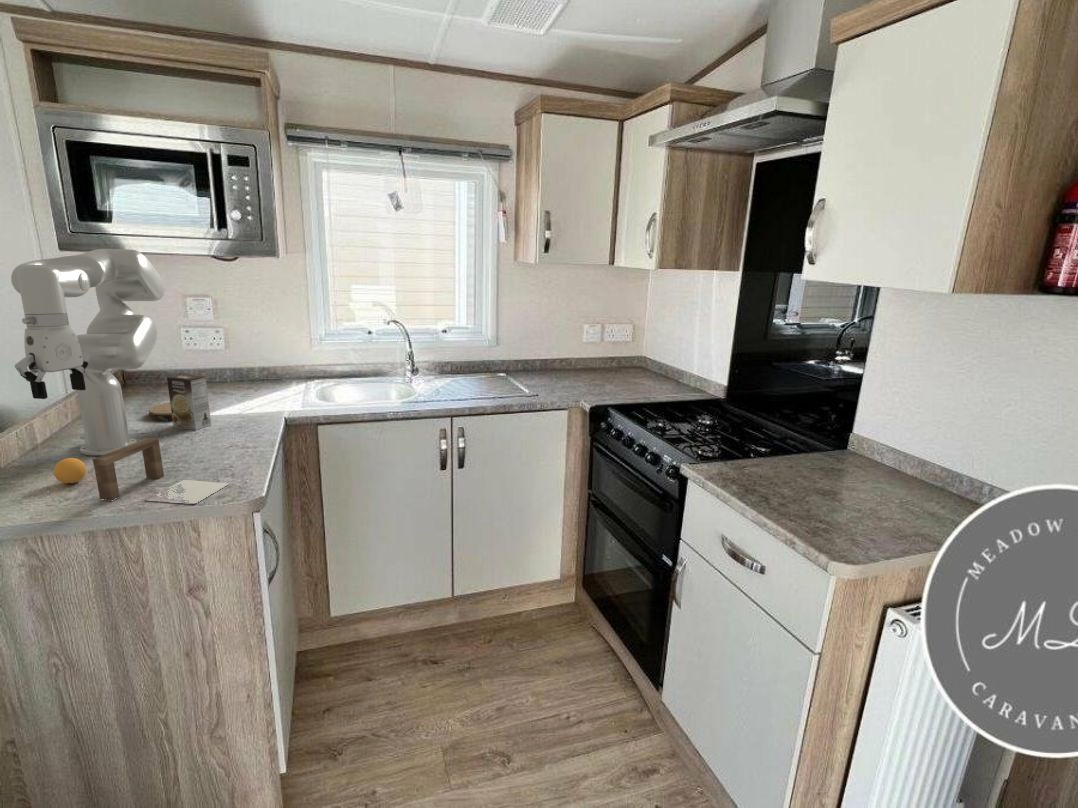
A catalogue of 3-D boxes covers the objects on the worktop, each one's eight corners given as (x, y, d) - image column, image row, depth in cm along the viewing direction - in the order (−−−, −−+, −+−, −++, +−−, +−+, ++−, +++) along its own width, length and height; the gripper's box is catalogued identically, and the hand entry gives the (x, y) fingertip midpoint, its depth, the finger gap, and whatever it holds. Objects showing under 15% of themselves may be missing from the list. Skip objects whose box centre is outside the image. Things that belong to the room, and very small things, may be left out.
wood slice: (177, 424, 182) (175, 415, 181) (137, 419, 186) (136, 410, 185) (216, 411, 197) (215, 403, 196) (179, 407, 201) (178, 399, 200)
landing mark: (144, 501, 127) (144, 500, 127) (183, 480, 138) (183, 479, 138) (194, 505, 125) (194, 504, 125) (229, 484, 137) (229, 483, 137)
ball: (49, 485, 134) (44, 461, 132) (76, 476, 139) (72, 453, 138) (68, 489, 132) (63, 464, 130) (94, 479, 137) (90, 456, 136)
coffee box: (172, 427, 178) (164, 376, 174) (189, 421, 184) (182, 372, 180) (196, 430, 175) (189, 379, 171) (212, 424, 181) (206, 375, 177)
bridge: (100, 500, 127) (92, 459, 124) (153, 475, 141) (147, 437, 138) (112, 501, 126) (105, 460, 124) (164, 476, 141) (158, 438, 138)
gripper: (24, 325, 123) (38, 403, 127) (95, 318, 139) (106, 387, 143) (-7, 324, 124) (9, 401, 128) (67, 317, 140) (79, 386, 144)
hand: (60, 394), depth 136 cm, fingers open, 9 cm apart
